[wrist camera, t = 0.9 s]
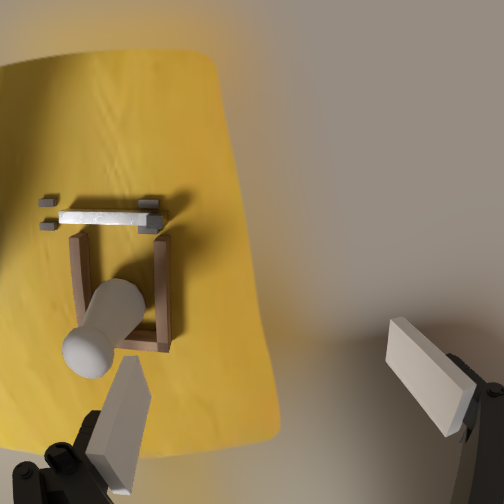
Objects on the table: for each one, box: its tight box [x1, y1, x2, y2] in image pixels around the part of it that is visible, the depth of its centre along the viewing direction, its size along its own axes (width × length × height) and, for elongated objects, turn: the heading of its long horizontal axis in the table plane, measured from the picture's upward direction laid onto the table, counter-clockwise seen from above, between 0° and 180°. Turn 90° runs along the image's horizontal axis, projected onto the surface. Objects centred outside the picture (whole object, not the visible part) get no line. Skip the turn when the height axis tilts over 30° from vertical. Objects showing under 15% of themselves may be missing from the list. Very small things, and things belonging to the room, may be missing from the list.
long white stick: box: [59, 209, 168, 229], centre depth 29 cm, size 12×1×3 cm, turn 86°
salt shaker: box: [62, 278, 146, 379], centre depth 27 cm, size 6×6×13 cm
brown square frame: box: [39, 198, 172, 353], centre depth 31 cm, size 15×16×2 cm
